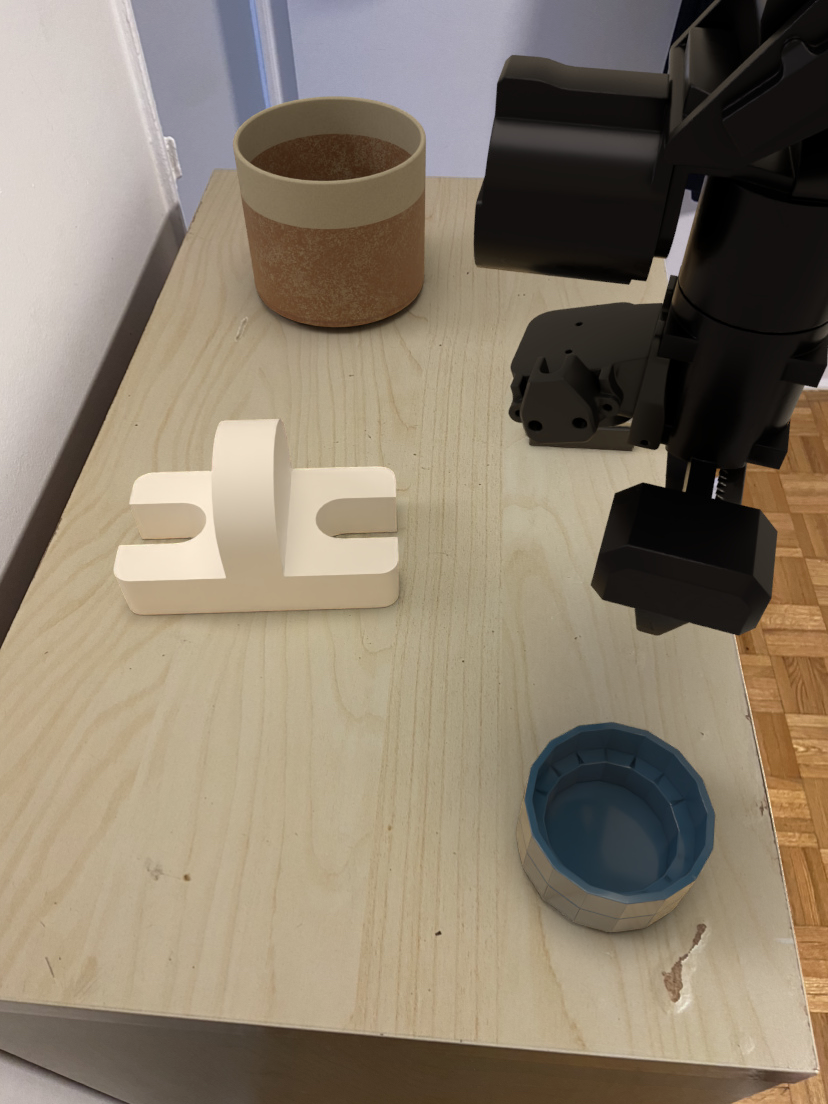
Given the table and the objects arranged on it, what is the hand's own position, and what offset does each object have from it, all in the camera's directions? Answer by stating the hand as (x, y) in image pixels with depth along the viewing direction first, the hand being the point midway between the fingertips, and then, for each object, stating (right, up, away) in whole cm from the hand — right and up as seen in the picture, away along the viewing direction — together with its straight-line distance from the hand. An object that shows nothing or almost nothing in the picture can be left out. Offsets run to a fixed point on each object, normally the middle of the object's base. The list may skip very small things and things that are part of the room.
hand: (662, 559), depth 43 cm
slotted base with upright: (-23, 0, +16) cm, 28 cm away
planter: (-20, +26, +37) cm, 49 cm away
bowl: (-2, -15, +3) cm, 16 cm away
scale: (+1, +11, +25) cm, 28 cm away
